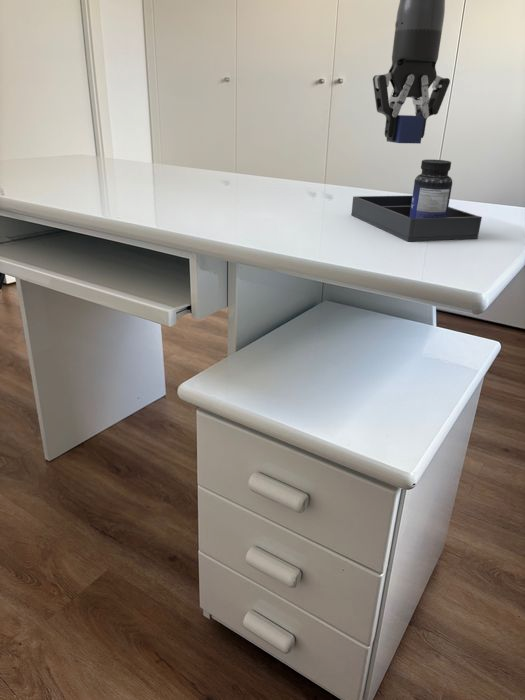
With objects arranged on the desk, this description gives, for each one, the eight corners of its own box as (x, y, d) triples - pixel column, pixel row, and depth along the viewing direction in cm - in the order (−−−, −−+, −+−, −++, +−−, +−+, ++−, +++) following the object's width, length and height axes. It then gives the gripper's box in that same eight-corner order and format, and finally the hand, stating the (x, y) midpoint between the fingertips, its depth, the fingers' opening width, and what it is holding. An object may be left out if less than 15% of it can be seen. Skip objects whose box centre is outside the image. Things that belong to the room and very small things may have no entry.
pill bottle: (412, 222, 96) (422, 158, 92) (447, 227, 94) (459, 160, 89) (404, 228, 91) (413, 160, 87) (440, 233, 89) (452, 163, 84)
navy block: (407, 141, 98) (411, 115, 96) (420, 143, 94) (424, 116, 92) (386, 141, 97) (389, 114, 95) (398, 143, 93) (401, 115, 91)
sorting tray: (410, 213, 109) (413, 195, 107) (477, 238, 90) (482, 217, 88) (351, 215, 106) (352, 196, 104) (407, 241, 86) (410, 219, 85)
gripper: (390, 24, 83) (377, 142, 90) (469, 30, 87) (450, 143, 94) (368, 29, 89) (357, 138, 97) (443, 34, 93) (427, 140, 100)
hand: (403, 140), depth 95 cm, fingers closed on navy block, 4 cm apart
